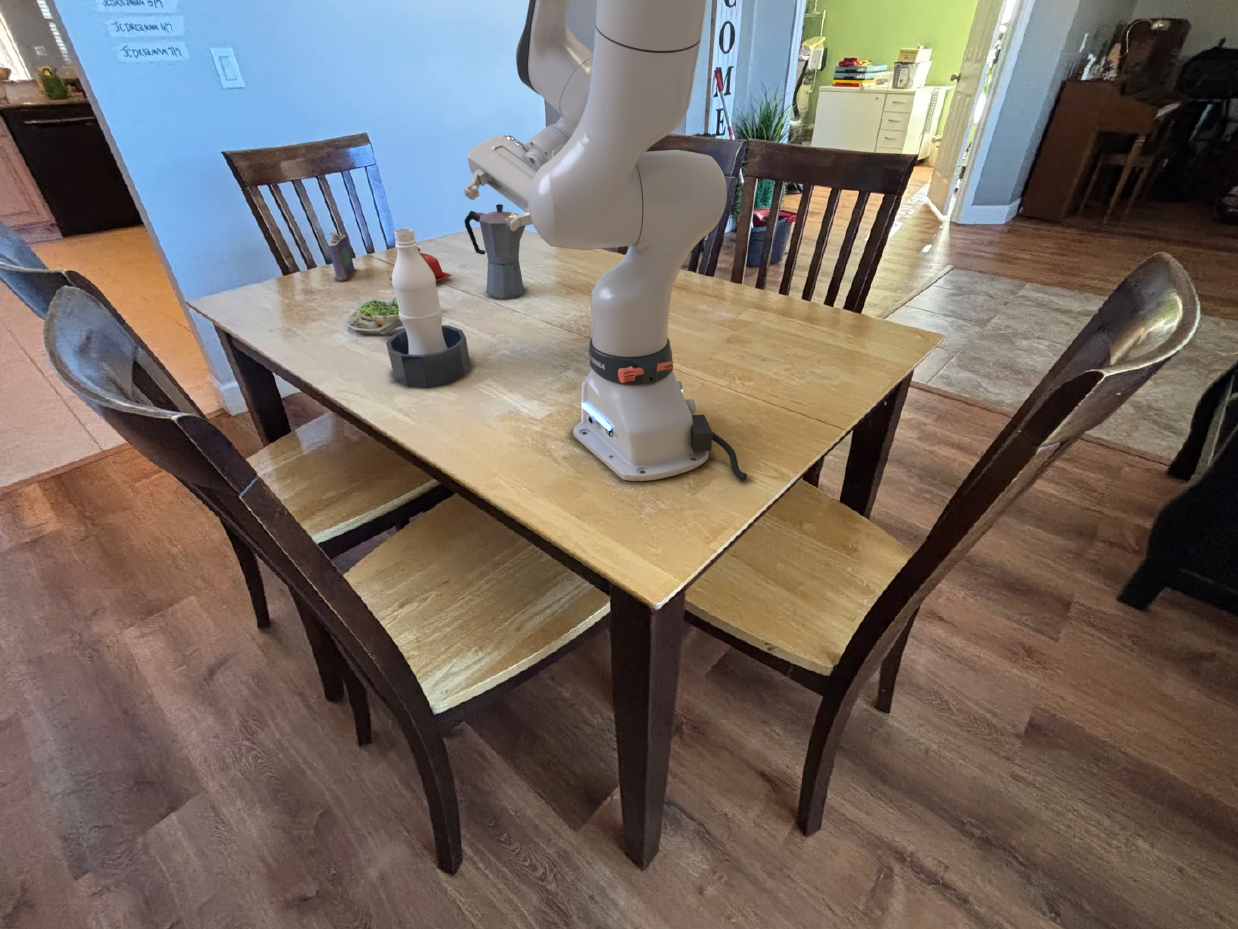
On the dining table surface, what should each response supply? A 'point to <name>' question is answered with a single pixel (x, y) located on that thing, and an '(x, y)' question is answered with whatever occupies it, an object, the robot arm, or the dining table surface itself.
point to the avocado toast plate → (376, 318)
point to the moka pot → (499, 252)
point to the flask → (341, 256)
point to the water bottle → (417, 297)
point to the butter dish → (433, 267)
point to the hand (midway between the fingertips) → (487, 210)
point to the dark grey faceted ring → (429, 360)
